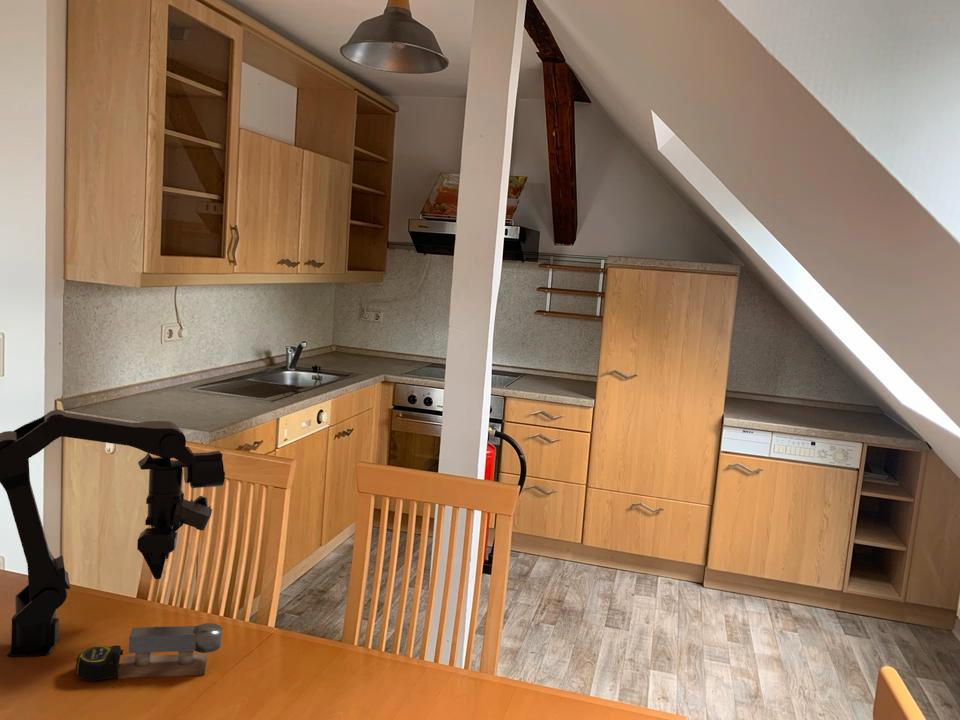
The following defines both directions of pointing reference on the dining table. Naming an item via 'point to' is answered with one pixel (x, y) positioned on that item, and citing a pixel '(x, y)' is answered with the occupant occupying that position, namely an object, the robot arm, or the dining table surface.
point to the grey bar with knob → (176, 638)
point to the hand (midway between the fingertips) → (161, 568)
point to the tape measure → (98, 662)
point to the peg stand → (163, 665)
